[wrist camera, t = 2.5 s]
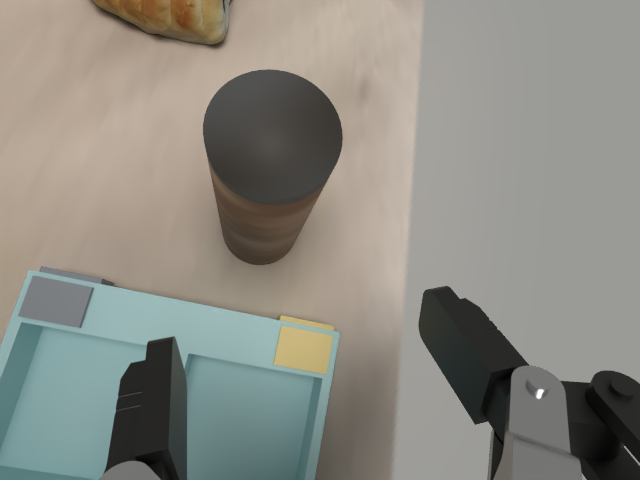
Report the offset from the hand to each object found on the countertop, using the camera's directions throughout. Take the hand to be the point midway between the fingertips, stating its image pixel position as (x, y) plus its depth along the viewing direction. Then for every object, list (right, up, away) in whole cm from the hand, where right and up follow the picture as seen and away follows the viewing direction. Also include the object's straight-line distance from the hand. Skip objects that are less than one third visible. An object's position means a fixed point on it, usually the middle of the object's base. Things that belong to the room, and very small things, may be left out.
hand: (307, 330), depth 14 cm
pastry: (-10, +19, +16) cm, 27 cm away
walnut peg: (-3, +4, +13) cm, 14 cm away
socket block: (-8, -6, +10) cm, 14 cm away
